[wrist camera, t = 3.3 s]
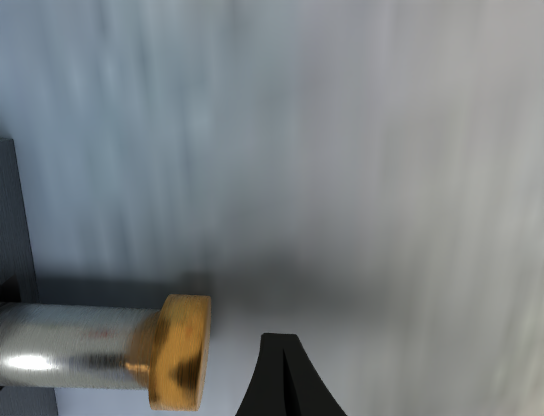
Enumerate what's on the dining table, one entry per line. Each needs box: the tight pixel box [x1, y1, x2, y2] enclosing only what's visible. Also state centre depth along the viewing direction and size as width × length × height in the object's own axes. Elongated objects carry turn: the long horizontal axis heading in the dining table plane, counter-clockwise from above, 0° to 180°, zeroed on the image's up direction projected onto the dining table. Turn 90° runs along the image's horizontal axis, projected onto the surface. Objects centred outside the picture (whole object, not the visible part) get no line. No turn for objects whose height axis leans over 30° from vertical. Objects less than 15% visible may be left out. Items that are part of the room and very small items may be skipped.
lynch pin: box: [0, 294, 211, 411], centre depth 12 cm, size 12×4×4 cm, turn 85°
